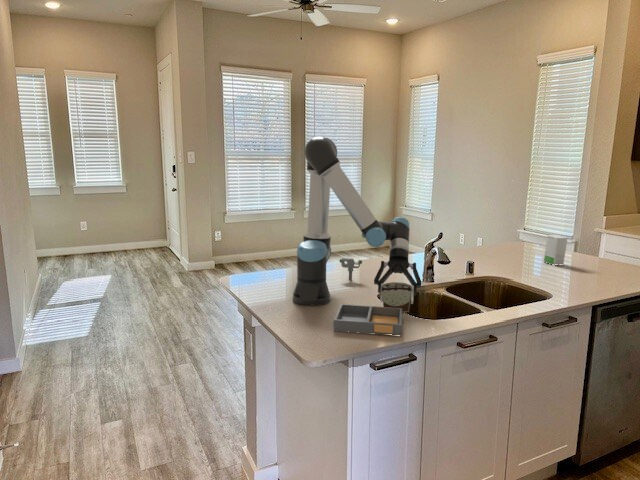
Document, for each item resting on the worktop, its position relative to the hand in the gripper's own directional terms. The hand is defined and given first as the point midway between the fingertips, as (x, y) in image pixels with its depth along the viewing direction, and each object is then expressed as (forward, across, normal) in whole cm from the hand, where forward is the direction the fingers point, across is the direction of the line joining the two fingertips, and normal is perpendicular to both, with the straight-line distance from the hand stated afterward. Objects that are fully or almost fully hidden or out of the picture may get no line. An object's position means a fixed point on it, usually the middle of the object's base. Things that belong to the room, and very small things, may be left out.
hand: (396, 301), depth 172 cm
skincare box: (-64, -83, -70) cm, 126 cm away
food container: (+1, 0, -5) cm, 5 cm away
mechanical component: (-24, +22, -30) cm, 45 cm away
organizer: (+14, +9, +8) cm, 18 cm away
